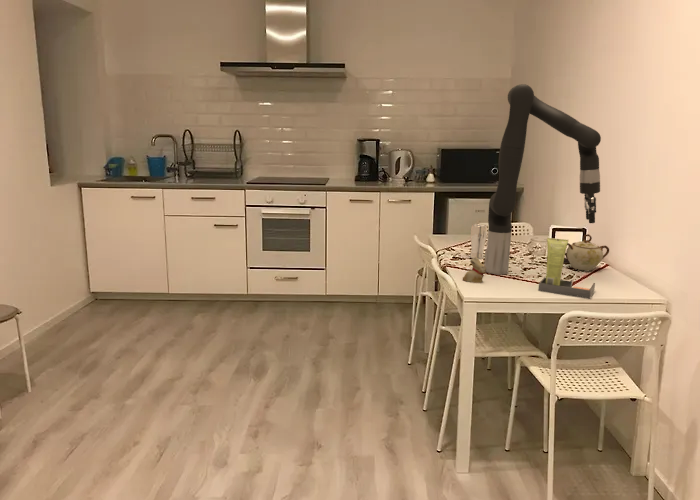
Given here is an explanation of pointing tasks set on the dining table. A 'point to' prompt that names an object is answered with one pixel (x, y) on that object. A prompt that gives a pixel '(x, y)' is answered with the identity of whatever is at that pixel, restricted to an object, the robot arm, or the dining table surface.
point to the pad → (581, 288)
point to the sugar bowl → (585, 254)
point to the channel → (565, 289)
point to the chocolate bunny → (475, 271)
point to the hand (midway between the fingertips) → (590, 221)
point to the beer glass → (477, 240)
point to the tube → (555, 260)
